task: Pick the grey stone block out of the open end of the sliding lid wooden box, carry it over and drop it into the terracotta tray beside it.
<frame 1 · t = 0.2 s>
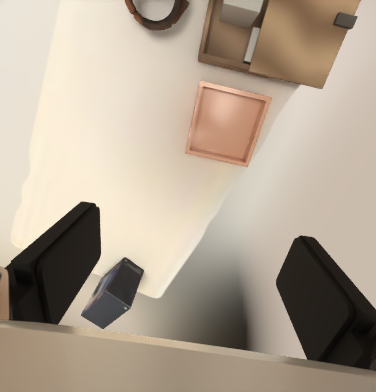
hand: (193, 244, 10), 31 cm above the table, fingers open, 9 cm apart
terracotta tray: (223, 125, 37), on the table
flat grey square block: (256, 50, 31), point 1 cm above the table, touching sliding lid wooden box
sliding lid wooden box: (248, 9, 30), on the table
stone block: (238, 5, 29), point 1 cm above the table, touching sliding lid wooden box
small box: (122, 273, 53), on the table
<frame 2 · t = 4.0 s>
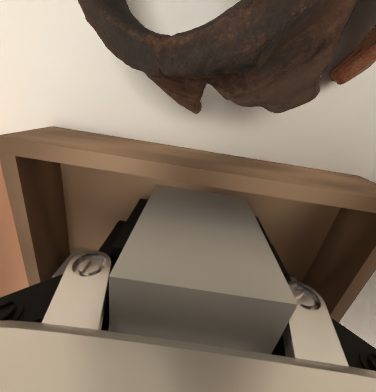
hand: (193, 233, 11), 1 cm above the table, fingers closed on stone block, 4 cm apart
sliding lid wooden box: (190, 243, 12), on the table
stone block: (194, 228, 11), point 1 cm above the table, touching sliding lid wooden box, gripper
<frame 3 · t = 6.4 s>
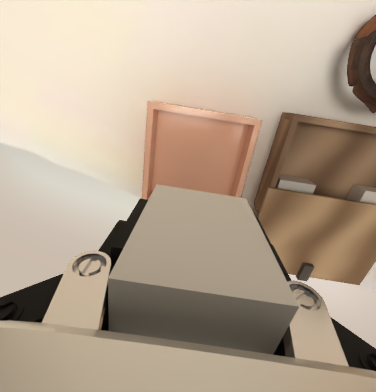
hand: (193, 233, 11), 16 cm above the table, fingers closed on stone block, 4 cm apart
terracotta tray: (196, 159, 25), on the table
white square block: (359, 201, 26), point 1 cm above the table, touching sliding lid wooden box
flat grey square block: (285, 189, 25), point 1 cm above the table, touching sliding lid wooden box
sliding lid wooden box: (329, 172, 25), on the table
stone block: (194, 229, 11), point 15 cm above the table, touching gripper
when the fingers open (4 cm above the table, at t = 8.9 s): stone block drops 3 cm, resting on terracotta tray.
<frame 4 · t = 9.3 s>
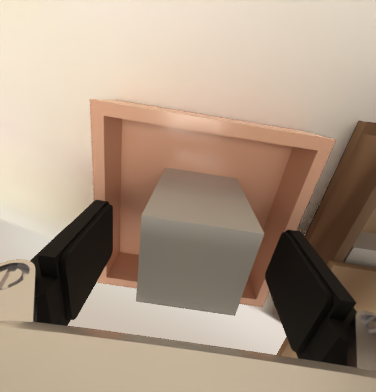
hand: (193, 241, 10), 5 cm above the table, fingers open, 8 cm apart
terracotta tray: (195, 200, 14), on the table
flat grey square block: (348, 251, 15), point 1 cm above the table, touching sliding lid wooden box
stone block: (195, 204, 14), point 1 cm above the table, touching terracotta tray
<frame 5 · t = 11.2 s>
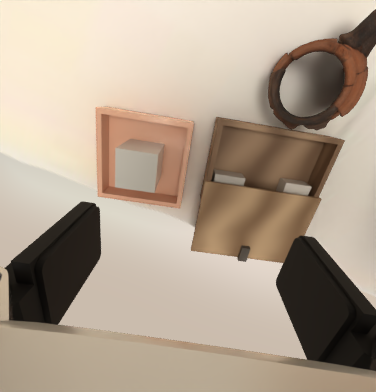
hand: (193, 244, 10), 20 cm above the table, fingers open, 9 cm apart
terracotta tray: (146, 156, 29), on the table
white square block: (287, 192, 30), point 1 cm above the table, touching sliding lid wooden box
broken pottery ring: (311, 80, 25), on the table
flat grey square block: (224, 182, 30), point 1 cm above the table, touching sliding lid wooden box
sliding lid wooden box: (260, 167, 29), on the table
stone block: (146, 157, 28), point 1 cm above the table, touching terracotta tray
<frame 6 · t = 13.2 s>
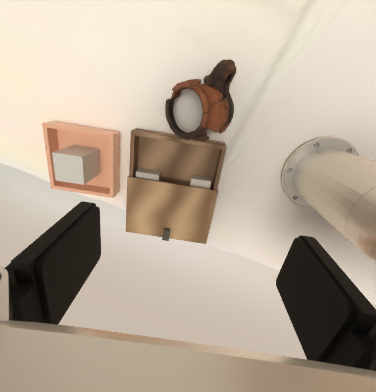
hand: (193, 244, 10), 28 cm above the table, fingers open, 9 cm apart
terracotta tray: (89, 158, 38), on the table
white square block: (199, 186, 38), point 1 cm above the table, touching sliding lid wooden box
broken pottery ring: (205, 103, 33), on the table
flat grey square block: (149, 178, 38), point 1 cm above the table, touching sliding lid wooden box
sliding lid wooden box: (176, 167, 38), on the table
stone block: (87, 159, 37), point 1 cm above the table, touching terracotta tray
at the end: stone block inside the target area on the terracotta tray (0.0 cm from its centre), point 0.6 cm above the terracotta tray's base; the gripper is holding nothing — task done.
